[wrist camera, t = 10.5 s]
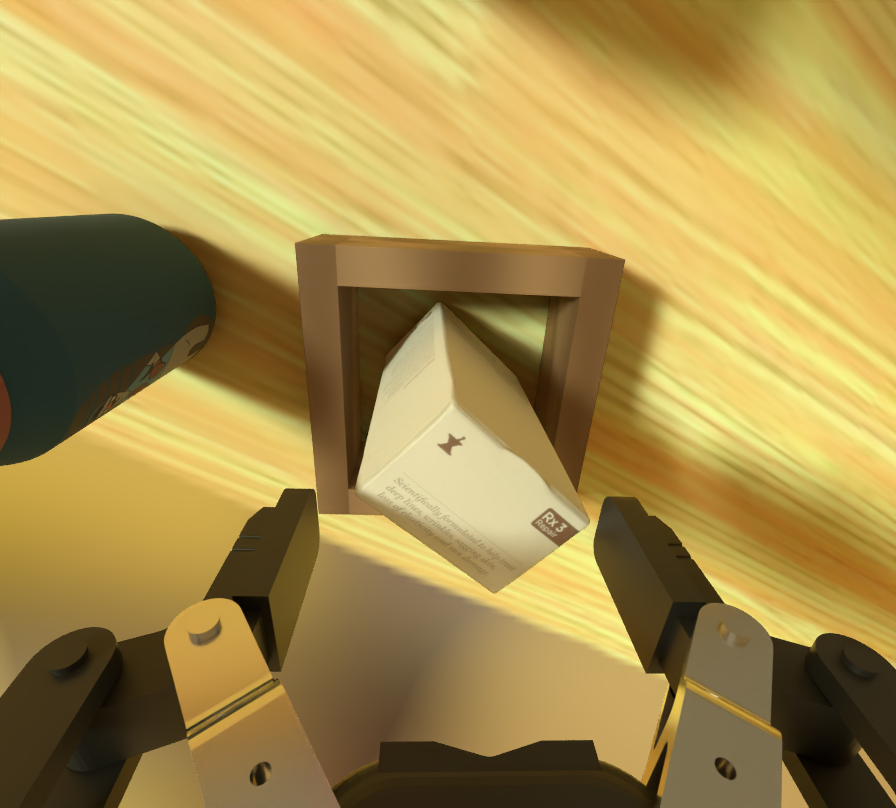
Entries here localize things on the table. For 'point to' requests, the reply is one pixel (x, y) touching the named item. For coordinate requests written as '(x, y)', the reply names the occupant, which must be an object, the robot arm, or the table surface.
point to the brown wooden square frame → (448, 269)
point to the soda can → (90, 321)
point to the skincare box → (465, 456)
